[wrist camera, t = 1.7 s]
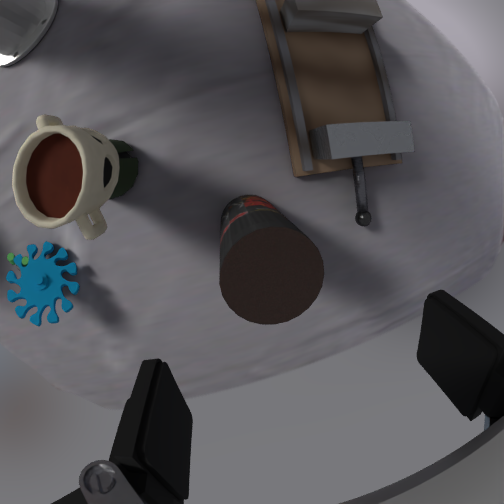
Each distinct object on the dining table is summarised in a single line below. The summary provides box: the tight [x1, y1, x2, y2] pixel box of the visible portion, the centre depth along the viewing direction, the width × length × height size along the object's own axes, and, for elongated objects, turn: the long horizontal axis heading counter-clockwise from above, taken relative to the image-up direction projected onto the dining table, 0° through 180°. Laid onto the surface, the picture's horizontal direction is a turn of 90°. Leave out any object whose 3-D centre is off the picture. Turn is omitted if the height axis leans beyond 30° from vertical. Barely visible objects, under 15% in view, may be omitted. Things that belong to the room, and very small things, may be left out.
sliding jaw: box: [309, 121, 415, 226], centre depth 26 cm, size 11×9×5 cm
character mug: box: [12, 115, 138, 240], centre depth 21 cm, size 11×7×13 cm, turn 24°
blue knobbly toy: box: [6, 241, 80, 326], centre depth 27 cm, size 11×6×10 cm
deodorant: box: [219, 195, 324, 324], centre depth 23 cm, size 6×6×15 cm
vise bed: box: [256, 0, 402, 177], centre depth 23 cm, size 22×13×6 cm, turn 10°
